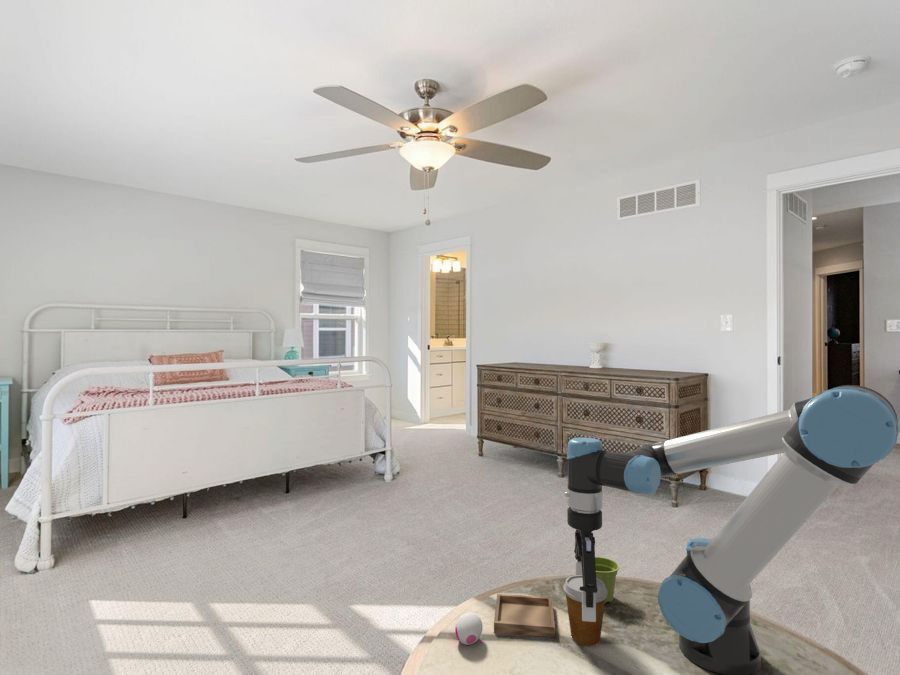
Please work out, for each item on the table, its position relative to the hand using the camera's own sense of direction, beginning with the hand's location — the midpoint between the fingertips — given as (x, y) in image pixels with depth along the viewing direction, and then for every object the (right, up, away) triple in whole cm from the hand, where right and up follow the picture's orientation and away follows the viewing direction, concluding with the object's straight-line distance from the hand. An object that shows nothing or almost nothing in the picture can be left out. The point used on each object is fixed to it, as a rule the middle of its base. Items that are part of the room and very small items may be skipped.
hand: (585, 604), depth 111 cm
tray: (-12, -8, +8) cm, 16 cm away
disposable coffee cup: (0, -8, 0) cm, 8 cm away
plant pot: (+9, -8, +18) cm, 21 cm away
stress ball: (-26, -8, -1) cm, 28 cm away
